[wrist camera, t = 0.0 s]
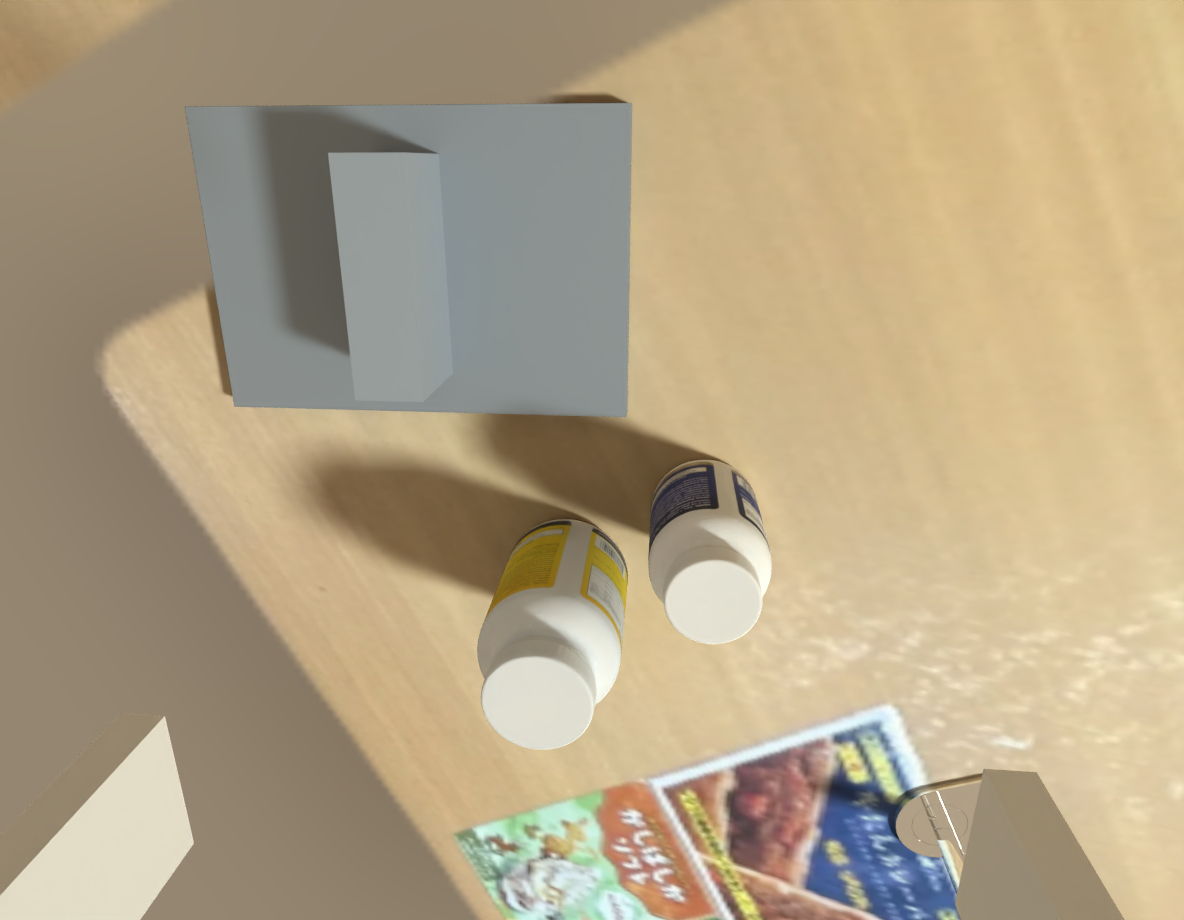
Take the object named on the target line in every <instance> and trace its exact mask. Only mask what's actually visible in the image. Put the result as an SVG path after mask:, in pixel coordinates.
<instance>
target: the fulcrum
mask: <svg viewBox="0 0 1184 920" xmlns="http://www.w3.org/2000/svg"><path fill="white" fill-rule="evenodd" d="M185 112H186V117H187V124H188V130H189V136H190V142H191V148H192V154H193V160H194V165H195V172H196V177H197V184H198V190H199V196H200V202H201V208H202V214H203V220H204V226H205V232H206V238H207V244H208V250H209V256H210V262H211V268H212V275H213V281H214V287H215V293H216V299H217V305H218V311H219V317H220V323H221V329H222V335H223V341H224V347H225V353H226V359H227V365H228V371H229V377H230V383H231V389H232V395H233V401H234V407H270V408H306V409H343V410H380V411H417V412H454V413H491V414H528V415H565V416H602V417H626V416H627V406H628V339H629V272H630V204H631V137H632V104H631V103H566V104H451V105H450V104H446V105H445V104H444V105H334V106H333V105H331V106H329V105H325V106H207V107H205V106H200V107H185Z"/></svg>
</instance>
